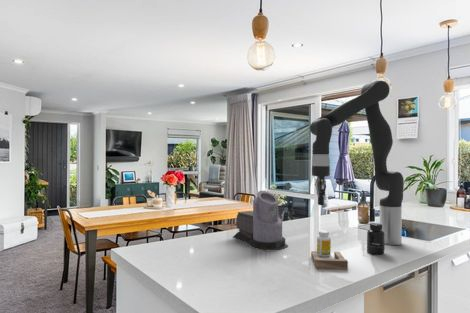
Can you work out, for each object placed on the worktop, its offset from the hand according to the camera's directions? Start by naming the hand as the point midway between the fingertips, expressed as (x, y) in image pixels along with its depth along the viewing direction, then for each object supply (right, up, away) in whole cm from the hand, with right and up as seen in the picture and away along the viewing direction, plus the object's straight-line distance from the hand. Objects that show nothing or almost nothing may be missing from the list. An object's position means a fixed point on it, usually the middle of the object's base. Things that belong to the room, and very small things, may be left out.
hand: (320, 204), depth 140 cm
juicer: (-25, -20, +12) cm, 34 cm away
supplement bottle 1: (-1, -19, -8) cm, 21 cm away
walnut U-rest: (-2, -19, -18) cm, 27 cm away
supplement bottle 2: (+22, -19, -5) cm, 29 cm away
